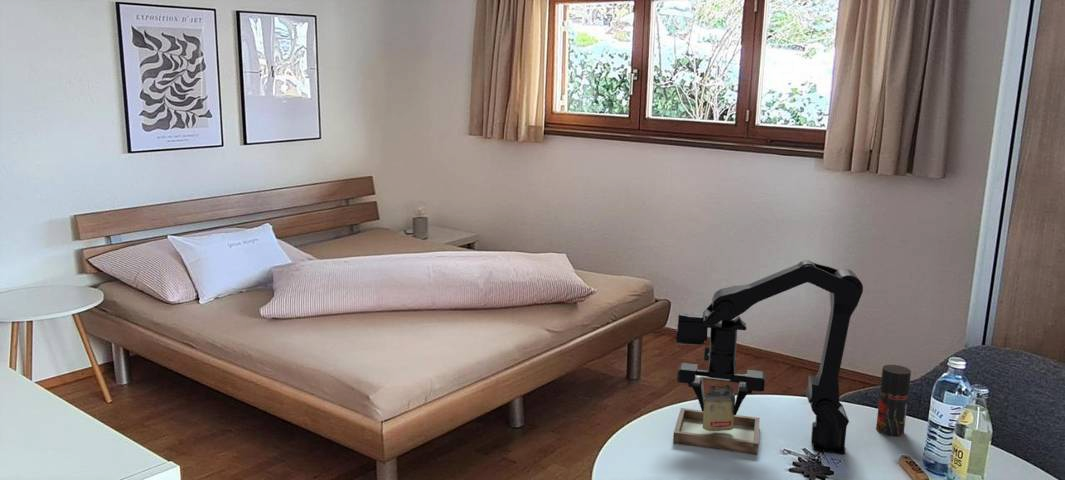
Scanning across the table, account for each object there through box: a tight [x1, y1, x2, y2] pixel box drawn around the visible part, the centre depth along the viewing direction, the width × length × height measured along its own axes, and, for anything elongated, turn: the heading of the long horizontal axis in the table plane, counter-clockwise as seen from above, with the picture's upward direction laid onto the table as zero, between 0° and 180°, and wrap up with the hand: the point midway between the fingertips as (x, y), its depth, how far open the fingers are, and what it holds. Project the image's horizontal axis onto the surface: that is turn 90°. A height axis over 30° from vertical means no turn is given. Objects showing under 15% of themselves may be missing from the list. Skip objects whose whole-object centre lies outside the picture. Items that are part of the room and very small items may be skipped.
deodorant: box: [875, 364, 912, 438], centre depth 193 cm, size 6×6×15 cm
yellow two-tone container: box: [702, 384, 736, 431], centre depth 189 cm, size 7×4×10 cm, turn 99°
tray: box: [672, 407, 761, 456], centre depth 190 cm, size 18×14×3 cm
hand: (718, 412), depth 190 cm, fingers closed on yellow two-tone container, 7 cm apart
